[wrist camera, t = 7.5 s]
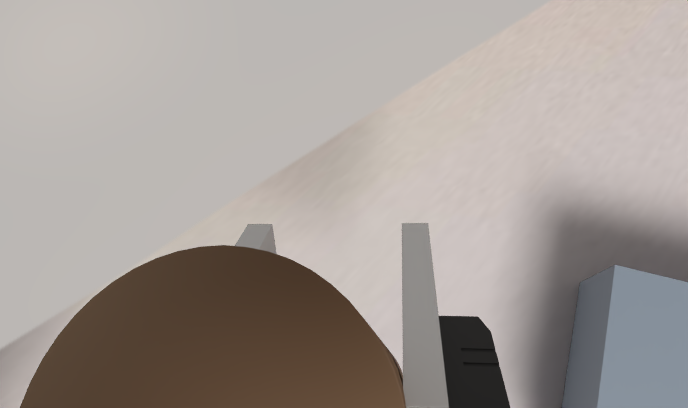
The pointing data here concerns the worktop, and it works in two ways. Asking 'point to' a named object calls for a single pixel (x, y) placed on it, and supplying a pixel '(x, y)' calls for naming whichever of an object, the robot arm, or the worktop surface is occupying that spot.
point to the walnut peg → (218, 340)
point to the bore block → (629, 342)
